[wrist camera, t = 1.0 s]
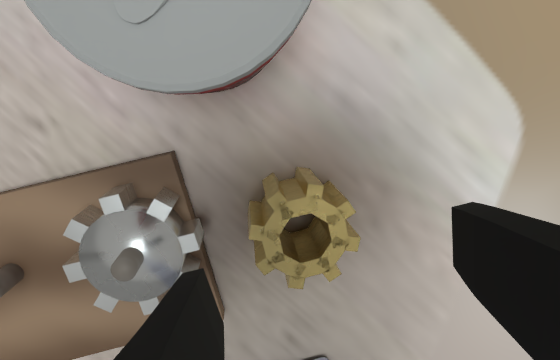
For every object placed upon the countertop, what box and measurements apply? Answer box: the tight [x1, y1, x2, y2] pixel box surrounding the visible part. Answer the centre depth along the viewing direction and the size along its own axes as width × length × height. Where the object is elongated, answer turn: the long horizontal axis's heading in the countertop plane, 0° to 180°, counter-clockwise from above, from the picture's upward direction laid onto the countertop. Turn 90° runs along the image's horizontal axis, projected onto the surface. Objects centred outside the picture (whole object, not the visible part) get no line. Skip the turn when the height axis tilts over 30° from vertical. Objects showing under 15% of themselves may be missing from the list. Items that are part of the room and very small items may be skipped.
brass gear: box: [248, 167, 360, 289], centre depth 20 cm, size 6×6×4 cm
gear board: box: [0, 151, 224, 360], centre depth 19 cm, size 11×16×4 cm
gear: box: [62, 183, 204, 315], centre depth 19 cm, size 7×7×2 cm
